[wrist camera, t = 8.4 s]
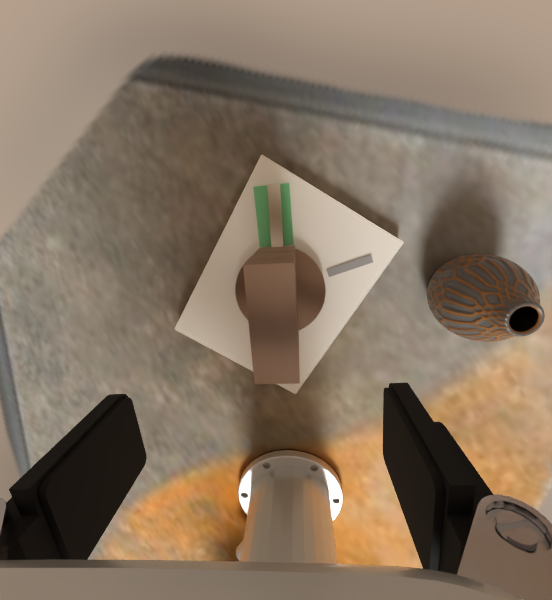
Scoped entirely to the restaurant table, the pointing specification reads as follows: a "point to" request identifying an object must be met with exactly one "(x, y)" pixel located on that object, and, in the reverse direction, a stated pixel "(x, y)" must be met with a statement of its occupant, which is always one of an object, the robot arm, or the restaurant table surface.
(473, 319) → the vase
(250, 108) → the restaurant table surface
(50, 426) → the restaurant table surface
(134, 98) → the restaurant table surface
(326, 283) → the dial board
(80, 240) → the restaurant table surface
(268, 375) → the dial knob
